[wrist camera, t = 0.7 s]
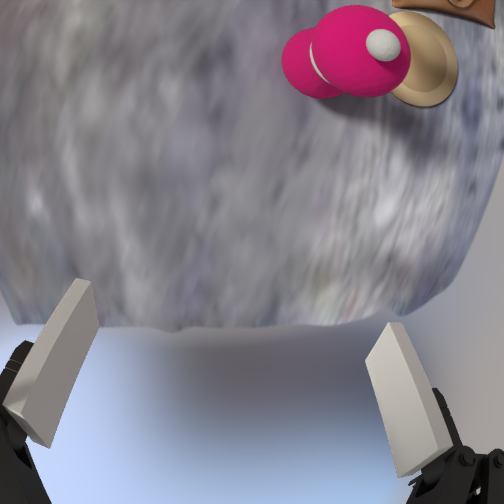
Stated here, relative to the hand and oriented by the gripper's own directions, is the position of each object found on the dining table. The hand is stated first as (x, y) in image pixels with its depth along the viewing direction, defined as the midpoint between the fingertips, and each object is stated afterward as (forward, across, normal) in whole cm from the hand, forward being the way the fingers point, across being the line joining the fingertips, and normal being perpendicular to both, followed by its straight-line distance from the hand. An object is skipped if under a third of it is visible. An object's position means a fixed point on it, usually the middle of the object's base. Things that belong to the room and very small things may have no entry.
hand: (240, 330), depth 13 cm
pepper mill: (+25, +5, +13) cm, 29 cm away
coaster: (+25, +17, +18) cm, 35 cm away
